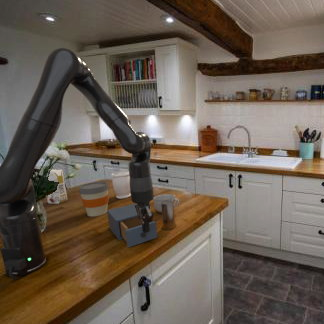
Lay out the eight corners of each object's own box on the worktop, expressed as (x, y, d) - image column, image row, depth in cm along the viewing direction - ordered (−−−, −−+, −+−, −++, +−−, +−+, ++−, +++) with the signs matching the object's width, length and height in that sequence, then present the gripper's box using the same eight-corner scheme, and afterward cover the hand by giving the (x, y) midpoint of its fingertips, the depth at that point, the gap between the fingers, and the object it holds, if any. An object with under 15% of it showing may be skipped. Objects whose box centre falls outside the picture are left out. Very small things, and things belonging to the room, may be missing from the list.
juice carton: (58, 204, 139) (52, 172, 136) (45, 203, 141) (39, 171, 137) (69, 200, 147) (64, 169, 143) (57, 199, 148) (52, 168, 144)
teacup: (150, 212, 127) (148, 198, 126) (166, 205, 137) (164, 191, 135) (169, 217, 121) (168, 202, 119) (185, 210, 130) (184, 195, 129)
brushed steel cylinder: (172, 229, 109) (170, 204, 107) (161, 229, 109) (159, 204, 107) (176, 224, 114) (175, 199, 112) (165, 224, 114) (163, 199, 112)
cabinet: (149, 230, 109) (148, 212, 107) (118, 240, 100) (116, 220, 98) (138, 219, 119) (136, 203, 117) (109, 228, 111) (107, 210, 109)
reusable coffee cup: (113, 206, 136) (109, 180, 133) (109, 215, 124) (105, 187, 121) (86, 210, 131) (82, 183, 128) (80, 219, 120) (75, 190, 117)
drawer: (158, 238, 100) (157, 222, 98) (129, 248, 92) (127, 232, 91) (145, 226, 110) (144, 212, 109) (117, 234, 103) (115, 219, 101)
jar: (114, 195, 155) (112, 172, 152) (133, 192, 159) (130, 170, 156) (113, 200, 145) (110, 176, 142) (132, 197, 149) (130, 174, 146)
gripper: (124, 186, 91) (130, 229, 95) (137, 194, 82) (142, 242, 85) (145, 182, 96) (149, 223, 100) (159, 189, 87) (163, 234, 90)
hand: (146, 231), depth 93 cm, fingers closed
